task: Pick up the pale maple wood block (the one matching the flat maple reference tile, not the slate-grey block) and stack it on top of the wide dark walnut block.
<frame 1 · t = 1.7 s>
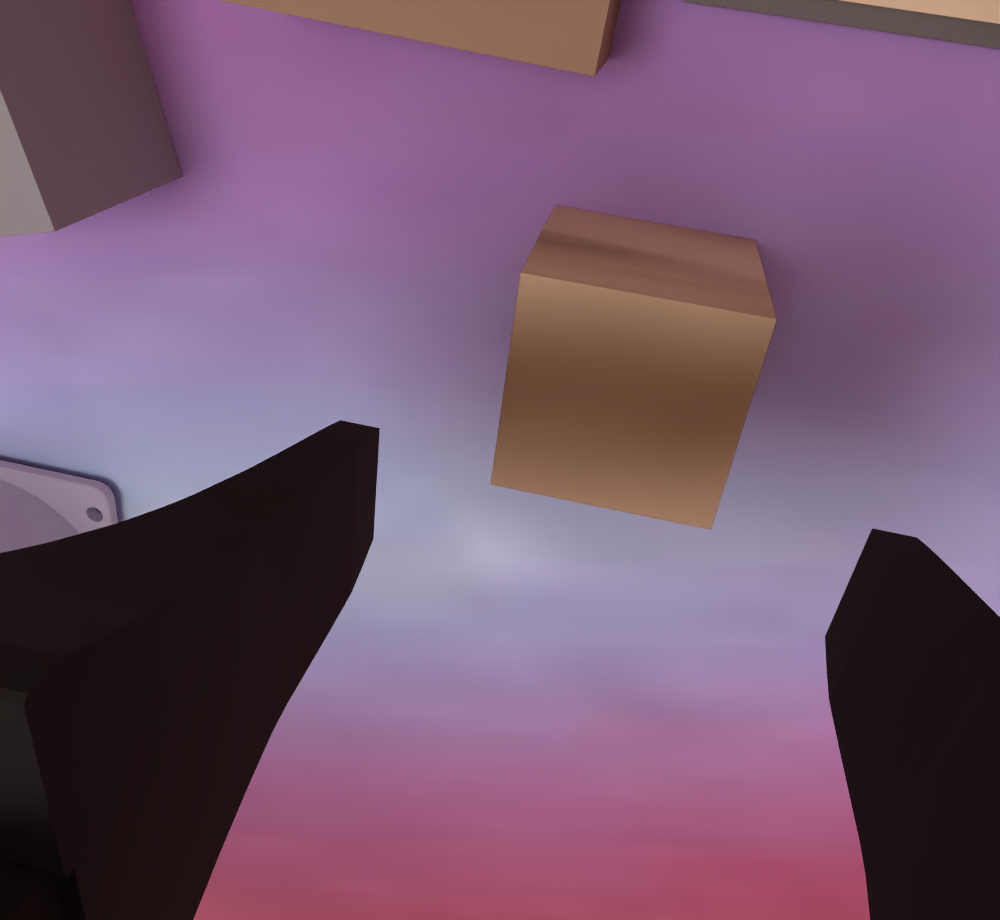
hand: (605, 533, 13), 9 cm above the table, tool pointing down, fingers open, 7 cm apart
maple block: (633, 315, 20), on the table
slate block: (68, 86, 20), on the table
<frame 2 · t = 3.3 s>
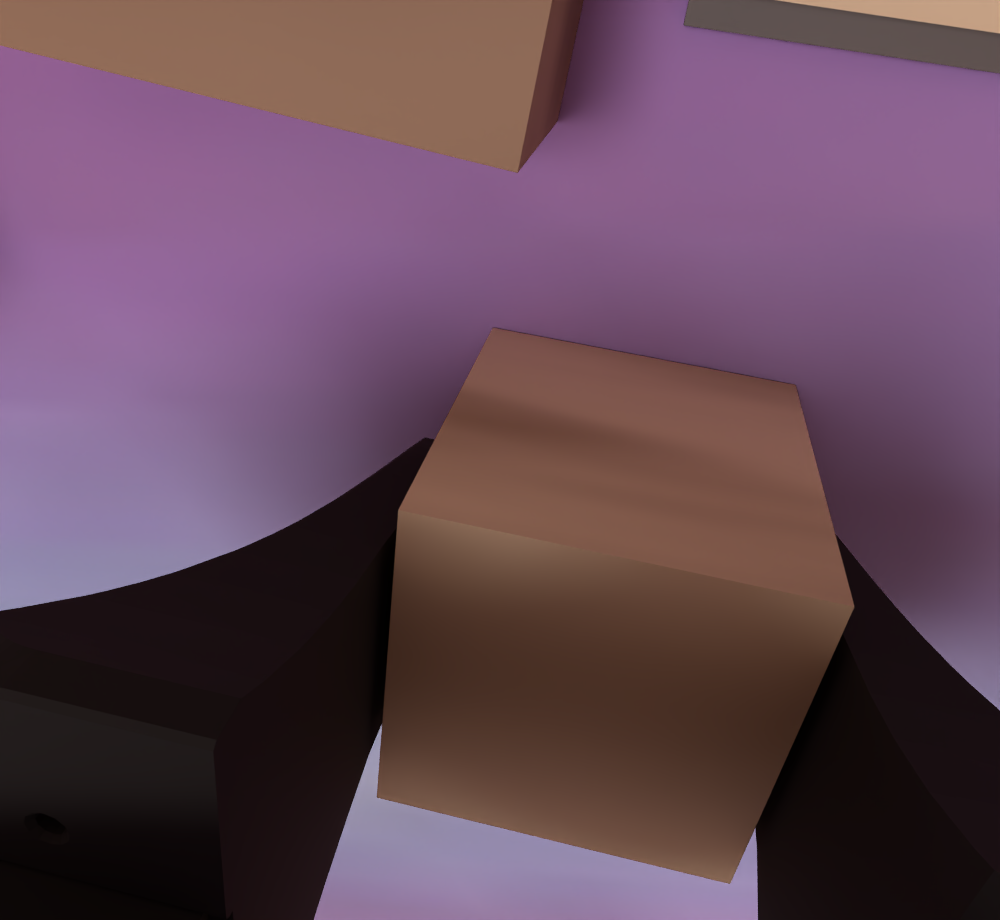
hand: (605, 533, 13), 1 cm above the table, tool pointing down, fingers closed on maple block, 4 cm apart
maple block: (612, 482, 14), on the table, touching gripper
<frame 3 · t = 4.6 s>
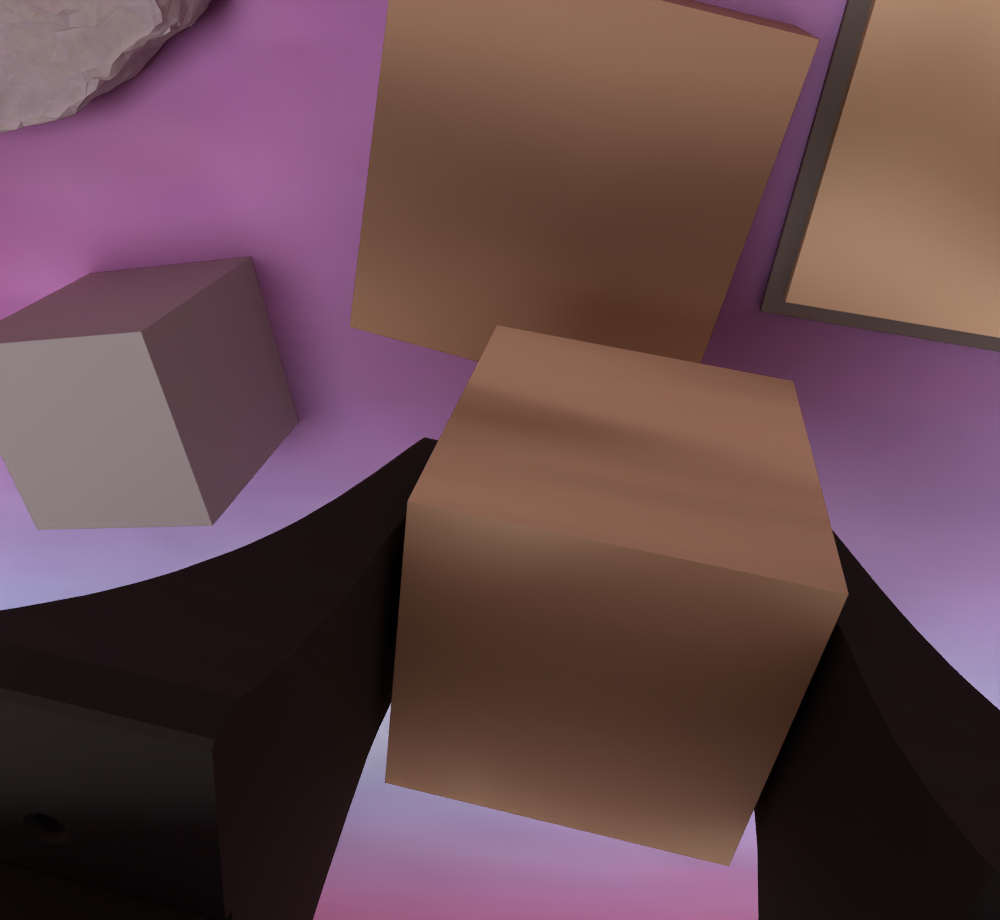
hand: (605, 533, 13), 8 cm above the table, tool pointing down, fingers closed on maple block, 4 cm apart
walnut block: (574, 162, 18), on the table
maple block: (614, 477, 14), point 7 cm above the table, touching gripper
reference tile: (978, 175, 17), on the table
slate block: (198, 348, 22), on the table
when the fingers open (6 cm above the table, at t = 6.1 s): maple block drops 1 cm, resting on walnut block.
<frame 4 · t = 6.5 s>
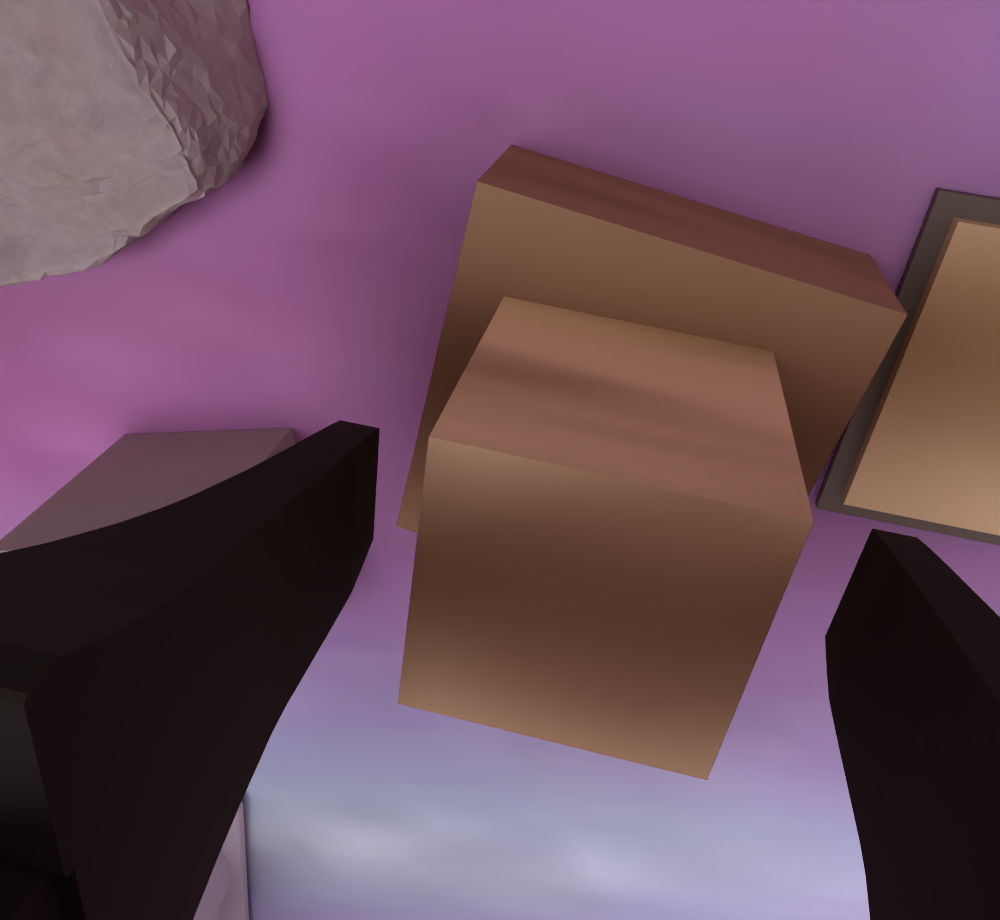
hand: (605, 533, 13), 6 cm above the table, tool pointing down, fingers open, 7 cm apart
walnut block: (629, 356, 18), on the table, touching maple block
maple block: (608, 440, 15), point 3 cm above the table, touching walnut block
slate block: (233, 507, 22), on the table
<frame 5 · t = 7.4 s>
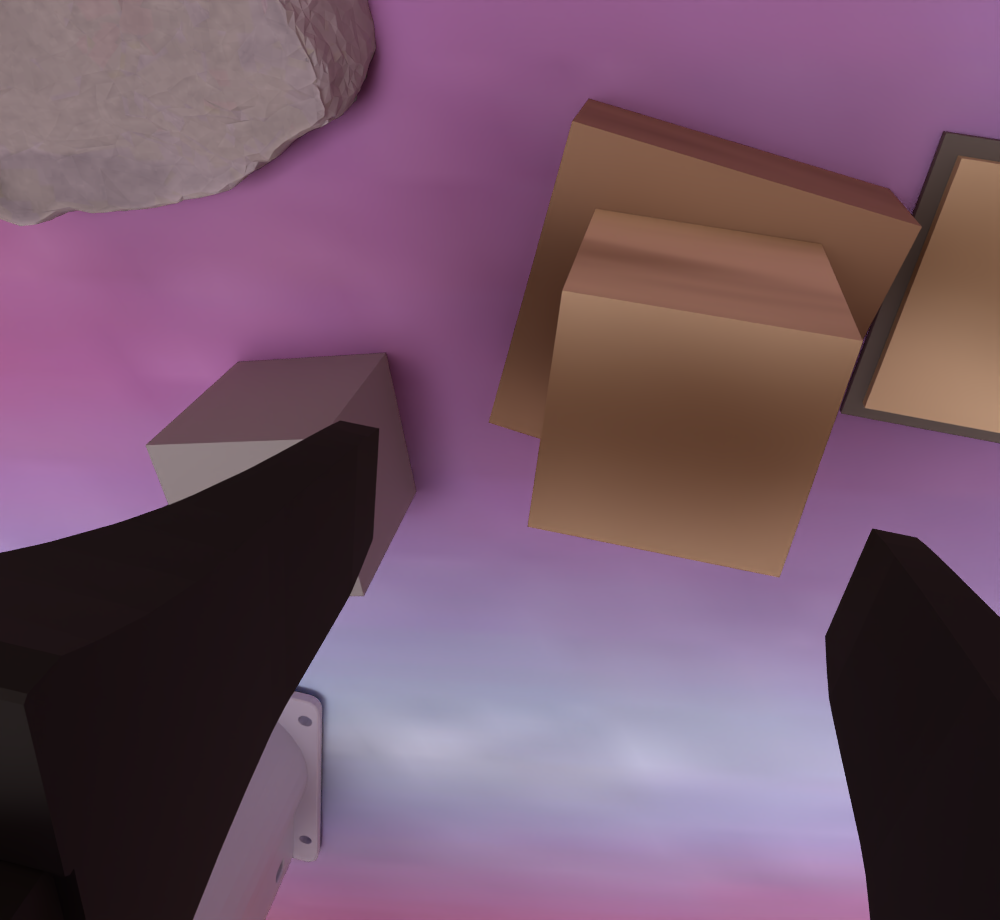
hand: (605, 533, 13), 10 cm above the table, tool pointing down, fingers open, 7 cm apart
walnut block: (683, 282, 21), on the table, touching maple block
maple block: (682, 330, 18), point 3 cm above the table, touching walnut block
slate block: (329, 427, 25), on the table
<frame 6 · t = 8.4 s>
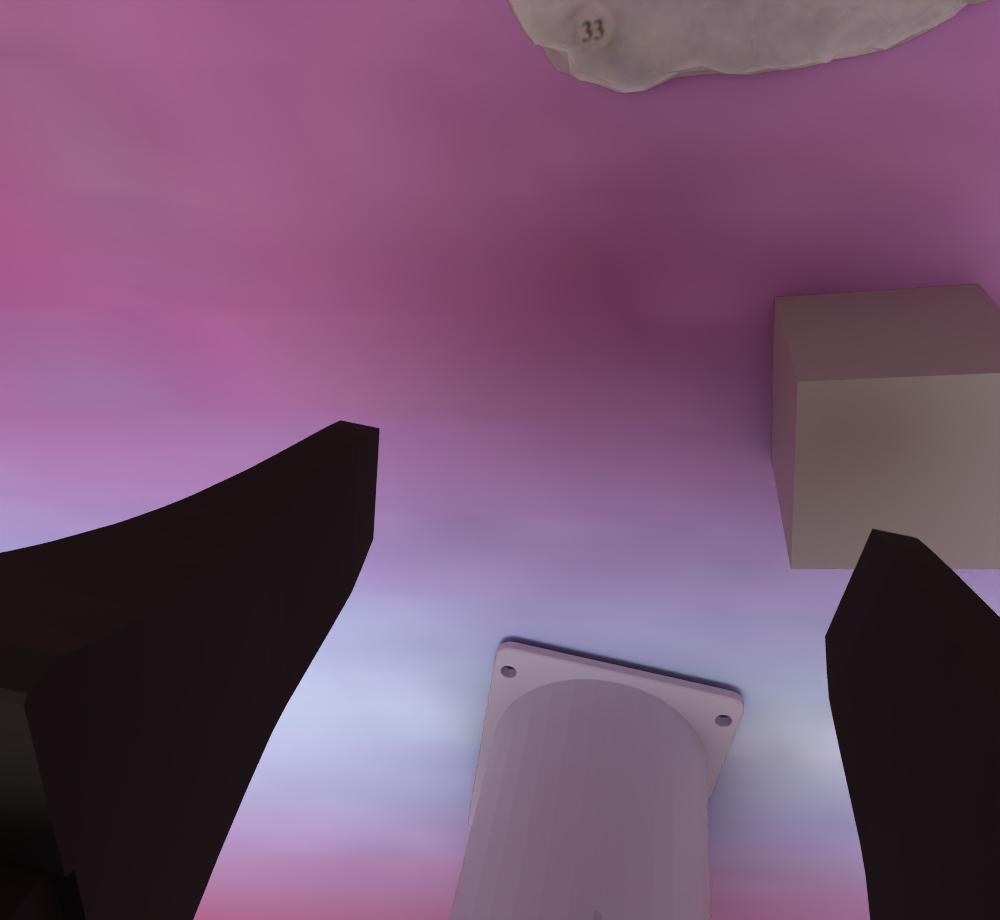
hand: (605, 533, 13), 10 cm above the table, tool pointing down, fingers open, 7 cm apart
slate block: (866, 376, 21), on the table
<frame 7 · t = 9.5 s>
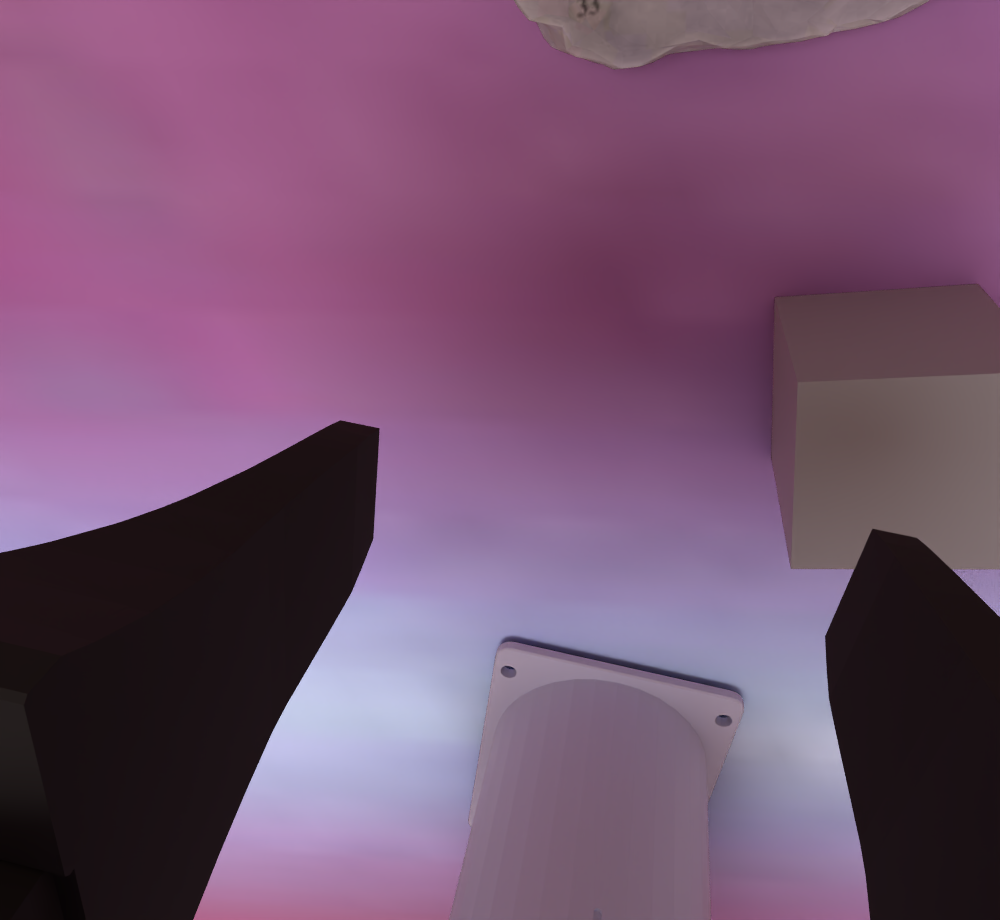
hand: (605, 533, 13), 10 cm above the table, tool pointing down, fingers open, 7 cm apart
slate block: (866, 376, 21), on the table
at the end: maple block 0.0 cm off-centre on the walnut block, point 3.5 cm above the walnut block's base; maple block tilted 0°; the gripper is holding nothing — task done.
